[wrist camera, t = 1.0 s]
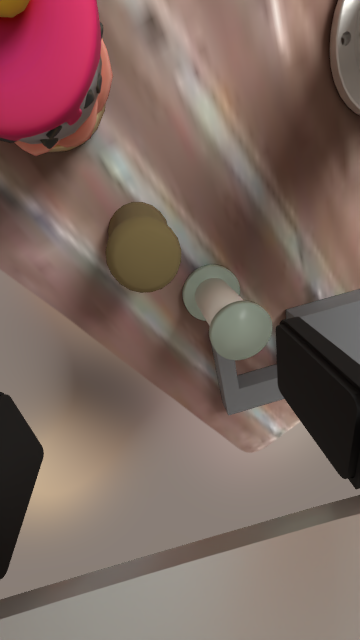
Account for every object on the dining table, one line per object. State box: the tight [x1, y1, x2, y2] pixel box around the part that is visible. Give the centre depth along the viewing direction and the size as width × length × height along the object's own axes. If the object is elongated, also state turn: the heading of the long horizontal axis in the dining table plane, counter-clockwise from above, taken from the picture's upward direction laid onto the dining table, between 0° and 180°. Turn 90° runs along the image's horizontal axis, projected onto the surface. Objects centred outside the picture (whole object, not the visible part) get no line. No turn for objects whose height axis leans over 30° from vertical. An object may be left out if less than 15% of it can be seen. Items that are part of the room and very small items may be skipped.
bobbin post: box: [182, 264, 272, 360], centre depth 27 cm, size 6×6×10 cm
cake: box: [0, 0, 113, 156], centre depth 15 cm, size 10×11×15 cm
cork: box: [105, 202, 181, 293], centre depth 23 cm, size 6×6×11 cm
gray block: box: [211, 289, 360, 415], centre depth 36 cm, size 20×12×2 cm, turn 103°
